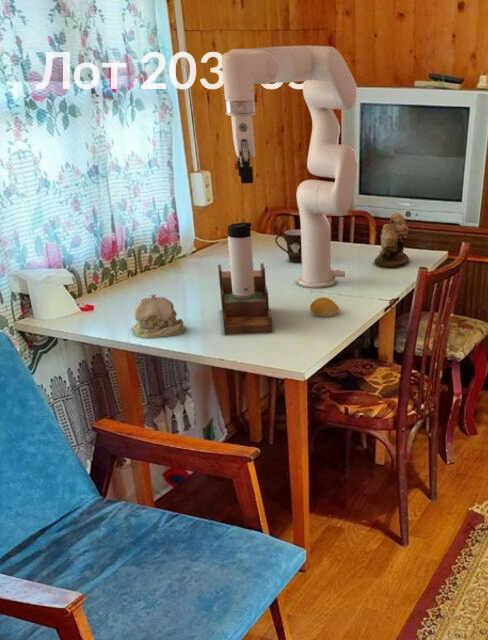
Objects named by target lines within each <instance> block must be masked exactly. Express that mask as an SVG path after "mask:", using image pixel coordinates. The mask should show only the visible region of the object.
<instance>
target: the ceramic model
mask: <svg viewBox="0 0 488 640" xmlns="http://www.w3.org/2000/svg"><path fill="white" fill-rule="evenodd" d="M174 308H175V306H174V304H173V302H172V301H171V300H169V299H168V298H167V297H166V296H165V297H164V296H156V294H150V297H142V298H140V301H139V302H138V303H137V305H136V306H135V307H134V309H133V313H134V314H133V315H134V320H135V321H136V323H135V324H134V325H133V326H132V330H134V334H135V336H137V337H140V338H146V339H149V338H162V337H170V336H171V337H172V336H177V335H180V334H182V333H183V332H184V330H185V326H184V325H185V323H184V320H183V319H182V318H178V319H177V314H178V313H177V311H176V310H175V309H174Z"/></svg>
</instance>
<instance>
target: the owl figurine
mask: <svg viewBox="0 0 488 640" xmlns="http://www.w3.org/2000/svg"><path fill="white" fill-rule="evenodd" d="M389 221H390V223H385V224H383V226H382V229H381V234H380V247H381V250H379V254H378V255H377V257H376V258H375V259H374V265H375V266H377V267H379V268H383V269H397V268H398V269H399V268H401V267H405V266H406V265H407V264H408V263H409V261H410V257H409V256H408V255H407V254H406V253H405V252H404V249H405V246H406V242H407V241H408V236H409V226H408V225H407V224H406V223H407V222H406V220H405V217H404V216H403V215H402V214H400V213H398V212H393V213H392V214H391V215H390V219H389Z"/></svg>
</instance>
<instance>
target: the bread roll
mask: <svg viewBox="0 0 488 640" xmlns="http://www.w3.org/2000/svg"><path fill="white" fill-rule="evenodd" d="M309 308H310V309H309V310H310V311H311V313H313V315H314V316H316V317H323V318H327V317H328V318H329V317H333V316H336V315H337V314H338V313H339V312H340V307H339V305H338V304H336V302H335V301H334V300H333V299H331V298H328V297H318V298H316V299H315V300H313V301H312V302H311V303H310V306H309Z"/></svg>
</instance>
